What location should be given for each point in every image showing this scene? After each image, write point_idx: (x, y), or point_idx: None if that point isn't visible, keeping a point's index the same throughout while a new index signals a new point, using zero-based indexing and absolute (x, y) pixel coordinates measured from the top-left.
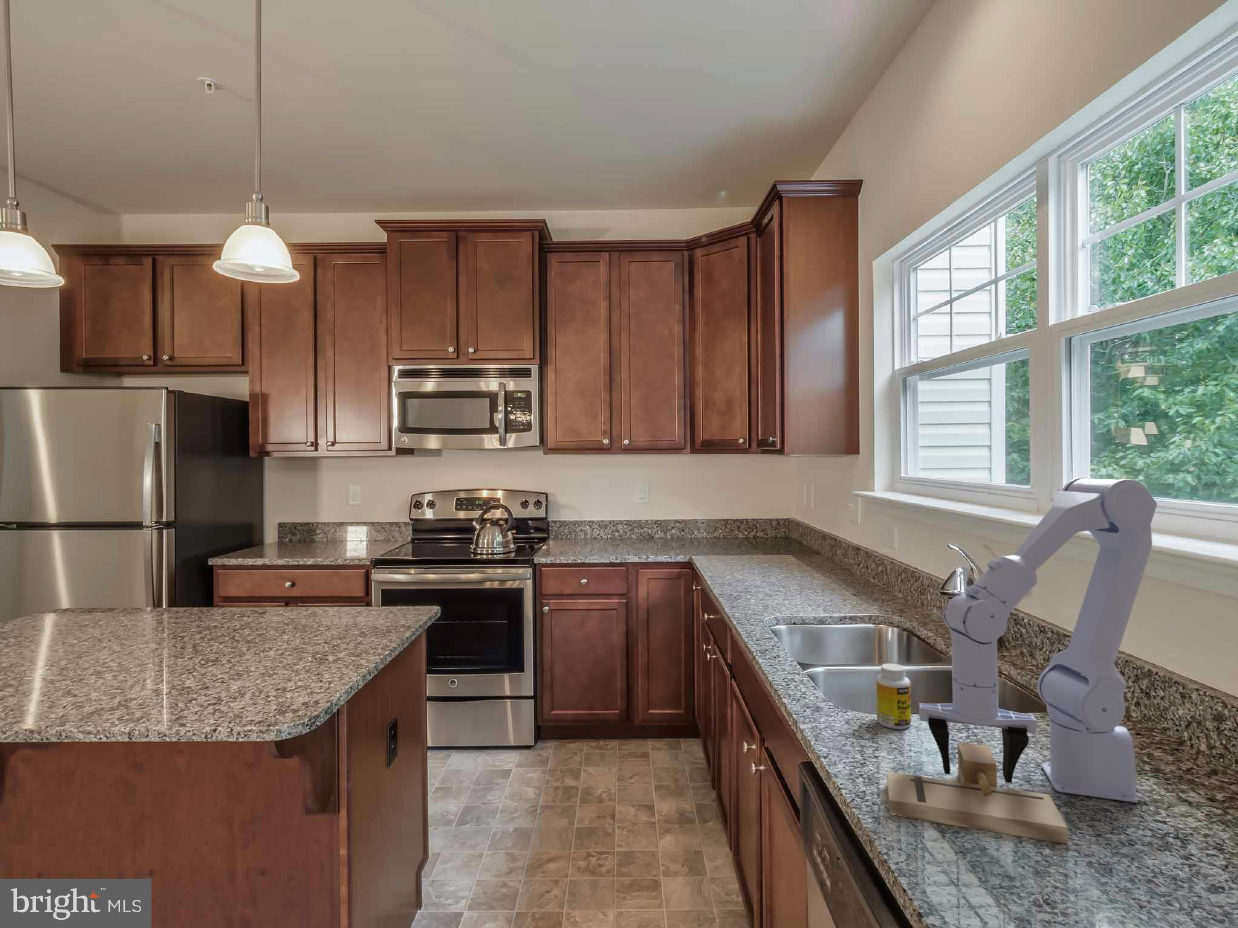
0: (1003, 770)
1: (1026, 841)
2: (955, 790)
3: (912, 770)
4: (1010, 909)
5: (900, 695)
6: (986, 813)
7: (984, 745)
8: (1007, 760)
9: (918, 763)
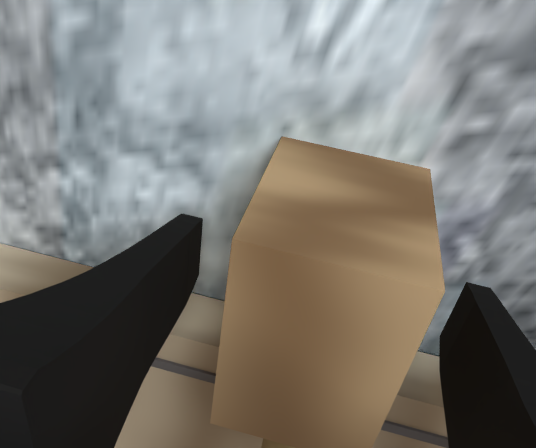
0: (466, 312)
1: None
2: (188, 393)
3: (69, 109)
4: None
5: None
6: None
7: (418, 285)
8: (456, 442)
9: (96, 20)
